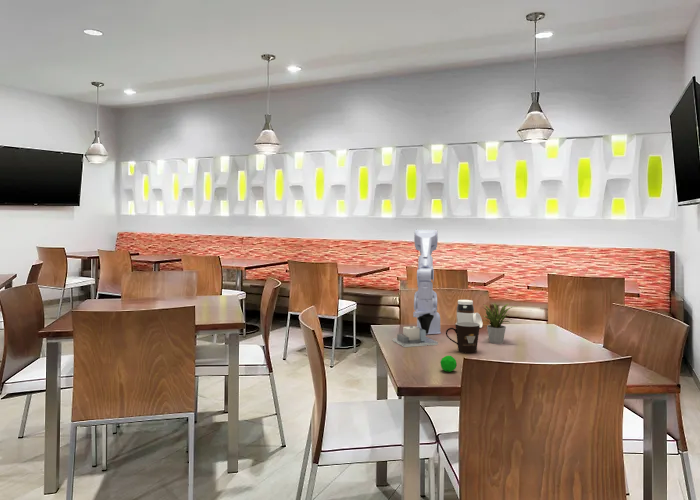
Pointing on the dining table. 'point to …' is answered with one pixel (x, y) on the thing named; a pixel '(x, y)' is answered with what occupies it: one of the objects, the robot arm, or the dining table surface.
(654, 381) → the dining table surface
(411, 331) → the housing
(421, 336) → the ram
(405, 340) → the press frame
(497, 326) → the house plant
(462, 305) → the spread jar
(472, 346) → the coffee mug
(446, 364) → the polyhedron
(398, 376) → the dining table surface
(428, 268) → the robot arm
